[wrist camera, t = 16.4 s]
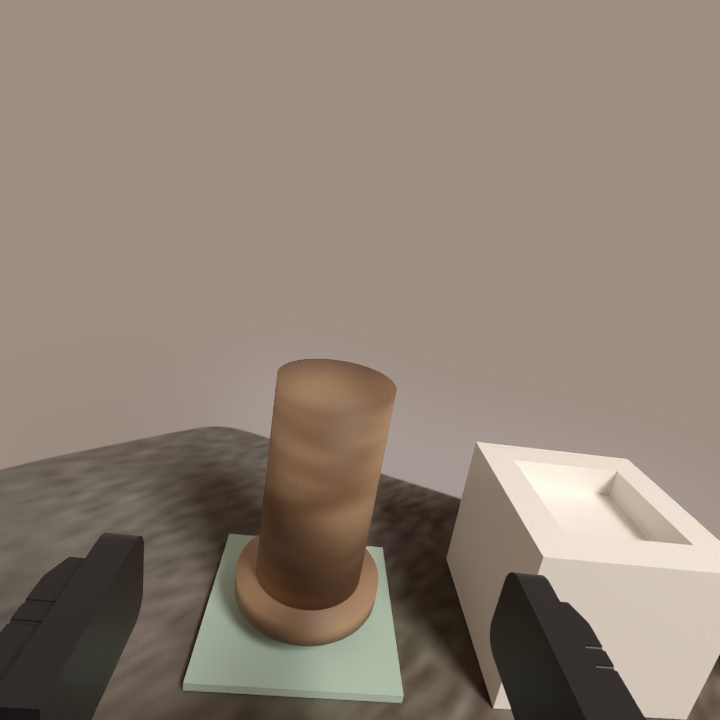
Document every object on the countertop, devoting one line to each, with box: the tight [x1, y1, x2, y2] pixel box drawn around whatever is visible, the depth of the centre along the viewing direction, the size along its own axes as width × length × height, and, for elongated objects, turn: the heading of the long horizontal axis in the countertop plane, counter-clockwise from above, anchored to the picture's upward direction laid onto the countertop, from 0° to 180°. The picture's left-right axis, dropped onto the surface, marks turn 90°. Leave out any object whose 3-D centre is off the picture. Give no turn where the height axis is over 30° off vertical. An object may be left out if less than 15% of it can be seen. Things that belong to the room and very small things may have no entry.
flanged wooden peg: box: [234, 359, 397, 646], centre depth 22 cm, size 7×7×12 cm
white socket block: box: [446, 442, 720, 720], centre depth 24 cm, size 9×9×8 cm
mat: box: [183, 534, 403, 703], centre depth 24 cm, size 9×9×1 cm
